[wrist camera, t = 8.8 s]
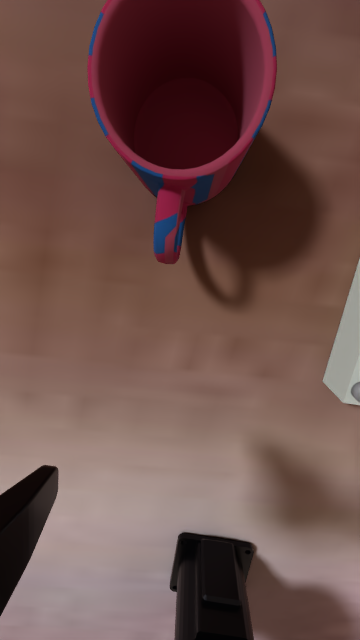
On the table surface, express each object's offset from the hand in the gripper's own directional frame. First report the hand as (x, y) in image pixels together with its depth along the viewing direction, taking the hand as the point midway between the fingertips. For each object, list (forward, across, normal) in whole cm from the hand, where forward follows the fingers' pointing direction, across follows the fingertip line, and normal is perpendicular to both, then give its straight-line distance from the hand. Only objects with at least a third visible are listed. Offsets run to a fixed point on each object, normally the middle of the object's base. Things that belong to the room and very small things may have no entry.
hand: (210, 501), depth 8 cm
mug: (+12, +3, -11) cm, 17 cm away
